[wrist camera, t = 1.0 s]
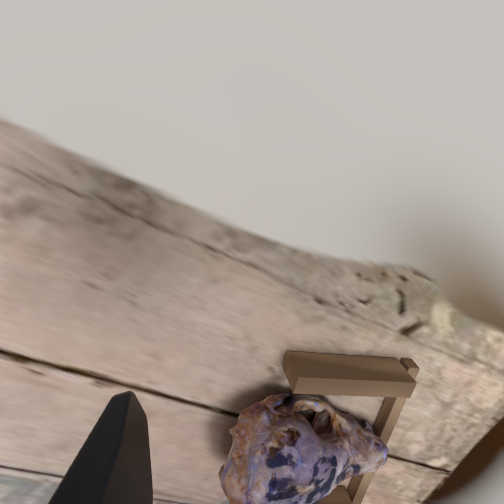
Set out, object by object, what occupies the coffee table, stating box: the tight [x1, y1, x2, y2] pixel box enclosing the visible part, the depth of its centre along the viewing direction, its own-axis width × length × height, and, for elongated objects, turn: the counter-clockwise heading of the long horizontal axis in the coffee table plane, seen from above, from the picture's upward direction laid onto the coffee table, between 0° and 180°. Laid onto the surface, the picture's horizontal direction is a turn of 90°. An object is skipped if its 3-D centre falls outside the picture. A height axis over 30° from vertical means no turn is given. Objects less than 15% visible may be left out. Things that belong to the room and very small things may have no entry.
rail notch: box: [282, 351, 420, 504], centre depth 29 cm, size 13×9×2 cm
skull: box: [219, 393, 388, 504], centre depth 27 cm, size 12×8×6 cm, turn 66°
